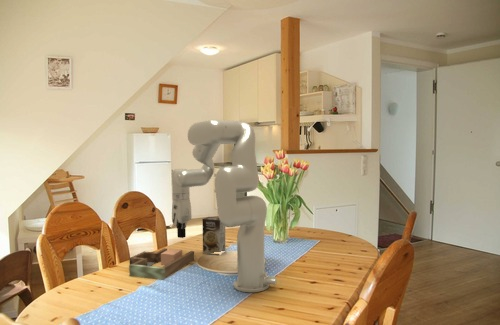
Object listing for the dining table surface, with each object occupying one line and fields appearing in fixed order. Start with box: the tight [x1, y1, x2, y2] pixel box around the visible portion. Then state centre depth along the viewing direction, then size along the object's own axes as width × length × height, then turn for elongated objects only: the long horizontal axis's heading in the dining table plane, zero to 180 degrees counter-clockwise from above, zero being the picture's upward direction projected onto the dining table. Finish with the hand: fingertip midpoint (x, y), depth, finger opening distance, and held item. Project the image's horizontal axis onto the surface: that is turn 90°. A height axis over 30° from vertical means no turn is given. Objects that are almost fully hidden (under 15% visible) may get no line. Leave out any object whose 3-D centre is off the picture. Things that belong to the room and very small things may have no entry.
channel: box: [128, 248, 195, 280], centre depth 152 cm, size 21×24×4 cm
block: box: [160, 248, 183, 266], centre depth 157 cm, size 6×8×5 cm
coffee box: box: [202, 216, 227, 255], centre depth 171 cm, size 9×6×16 cm
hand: (181, 237), depth 165 cm, fingers closed
